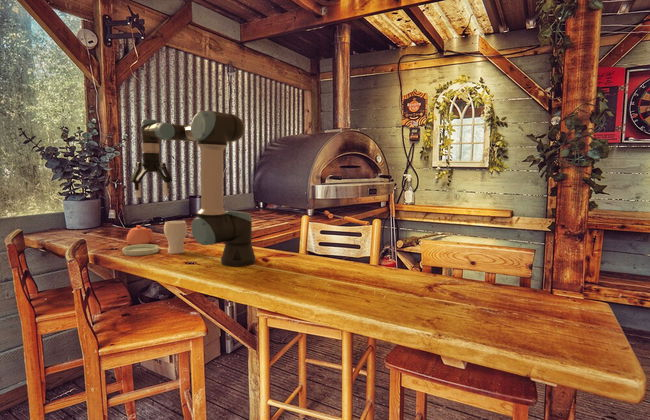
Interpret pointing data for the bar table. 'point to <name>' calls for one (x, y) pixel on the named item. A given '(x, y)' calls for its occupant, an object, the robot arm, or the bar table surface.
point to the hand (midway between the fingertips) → (152, 196)
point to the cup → (175, 235)
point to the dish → (140, 249)
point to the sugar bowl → (139, 236)
